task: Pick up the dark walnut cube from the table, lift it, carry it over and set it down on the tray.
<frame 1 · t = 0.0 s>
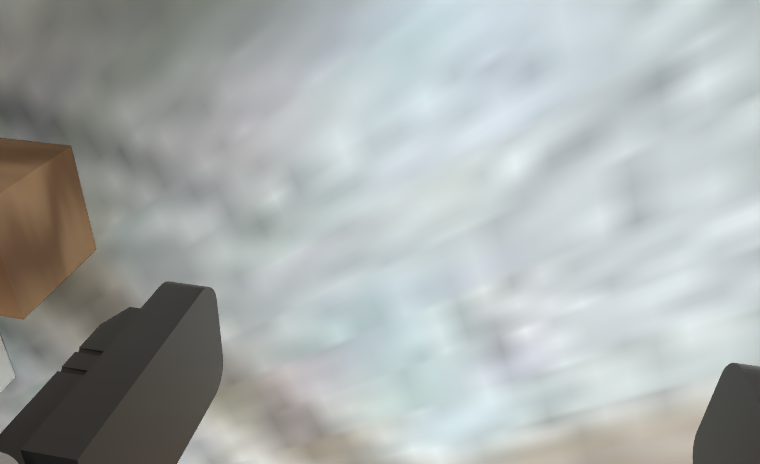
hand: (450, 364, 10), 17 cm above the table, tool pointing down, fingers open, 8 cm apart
walnut cube: (31, 192, 32), on the table
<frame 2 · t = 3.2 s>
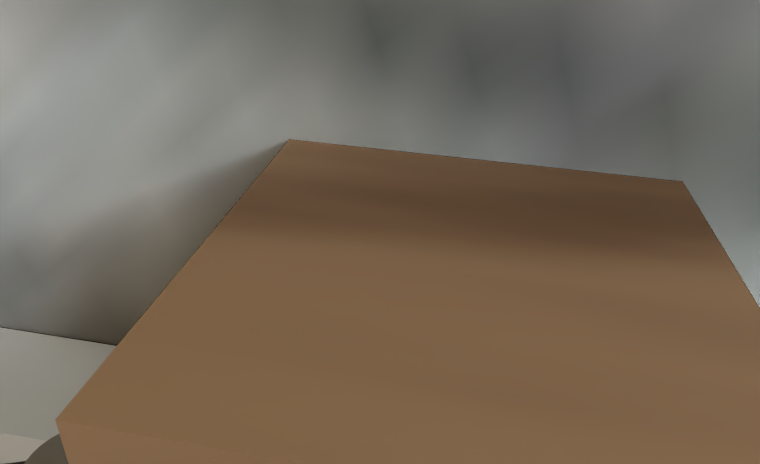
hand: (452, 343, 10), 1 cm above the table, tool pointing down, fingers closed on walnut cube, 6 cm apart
walnut cube: (457, 315, 11), on the table, touching gripper
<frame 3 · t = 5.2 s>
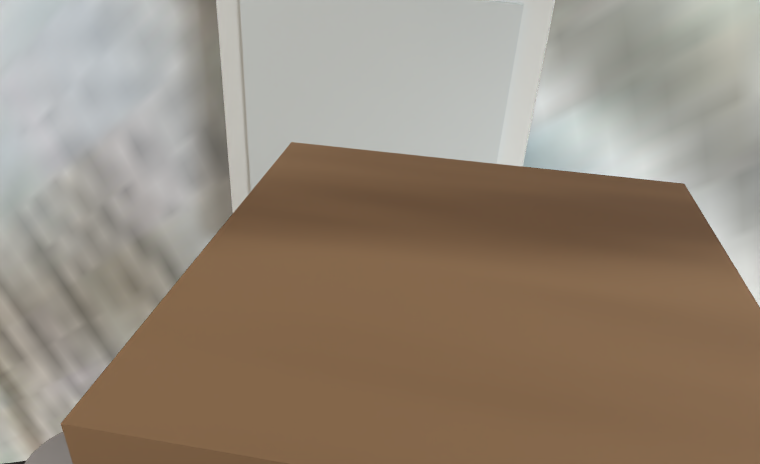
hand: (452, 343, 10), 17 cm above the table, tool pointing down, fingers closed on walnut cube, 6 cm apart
walnut cube: (459, 317, 11), point 16 cm above the table, touching gripper
tray: (382, 104, 26), on the table
when the fingers open (5 cm above the table, at t = 7.3 s): walnut cube drops 1 cm, resting on tray.
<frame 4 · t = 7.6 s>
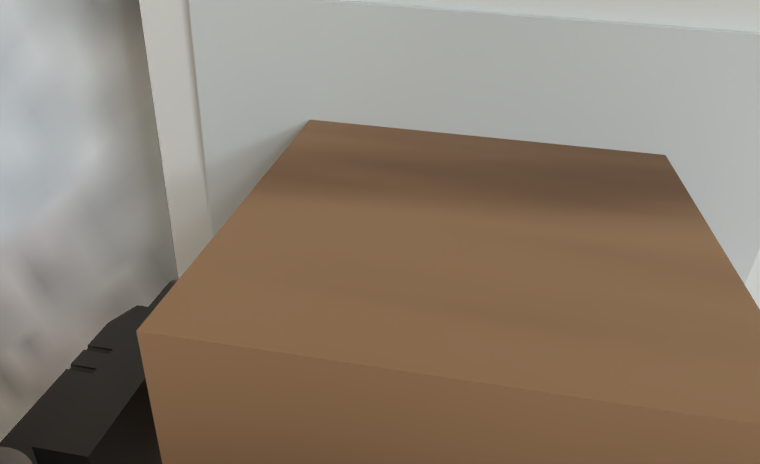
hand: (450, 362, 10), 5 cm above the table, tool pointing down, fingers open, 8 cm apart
walnut cube: (462, 282, 12), point 3 cm above the table, touching tray
tray: (465, 218, 14), on the table
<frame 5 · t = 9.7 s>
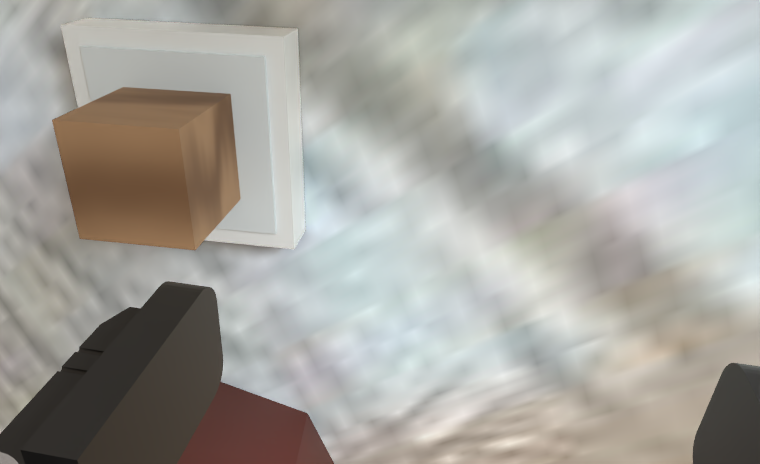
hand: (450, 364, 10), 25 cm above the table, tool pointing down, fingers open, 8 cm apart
walnut cube: (183, 144, 34), point 3 cm above the table, touching tray
bucket: (242, 457, 49), on the table
tray: (202, 129, 36), on the table
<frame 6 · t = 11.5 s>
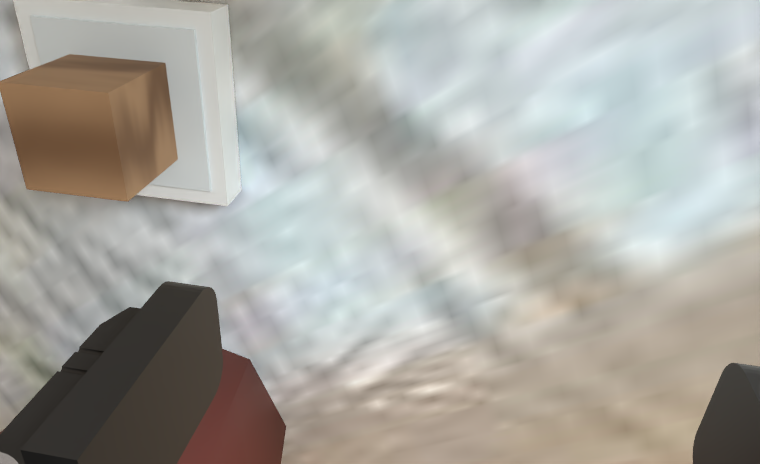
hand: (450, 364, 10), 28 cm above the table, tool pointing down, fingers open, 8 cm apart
walnut cube: (125, 108, 37), point 3 cm above the table, touching tray
bucket: (192, 399, 53), on the table
tray: (146, 95, 40), on the table
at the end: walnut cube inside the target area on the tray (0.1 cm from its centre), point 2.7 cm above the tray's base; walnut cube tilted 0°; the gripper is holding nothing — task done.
